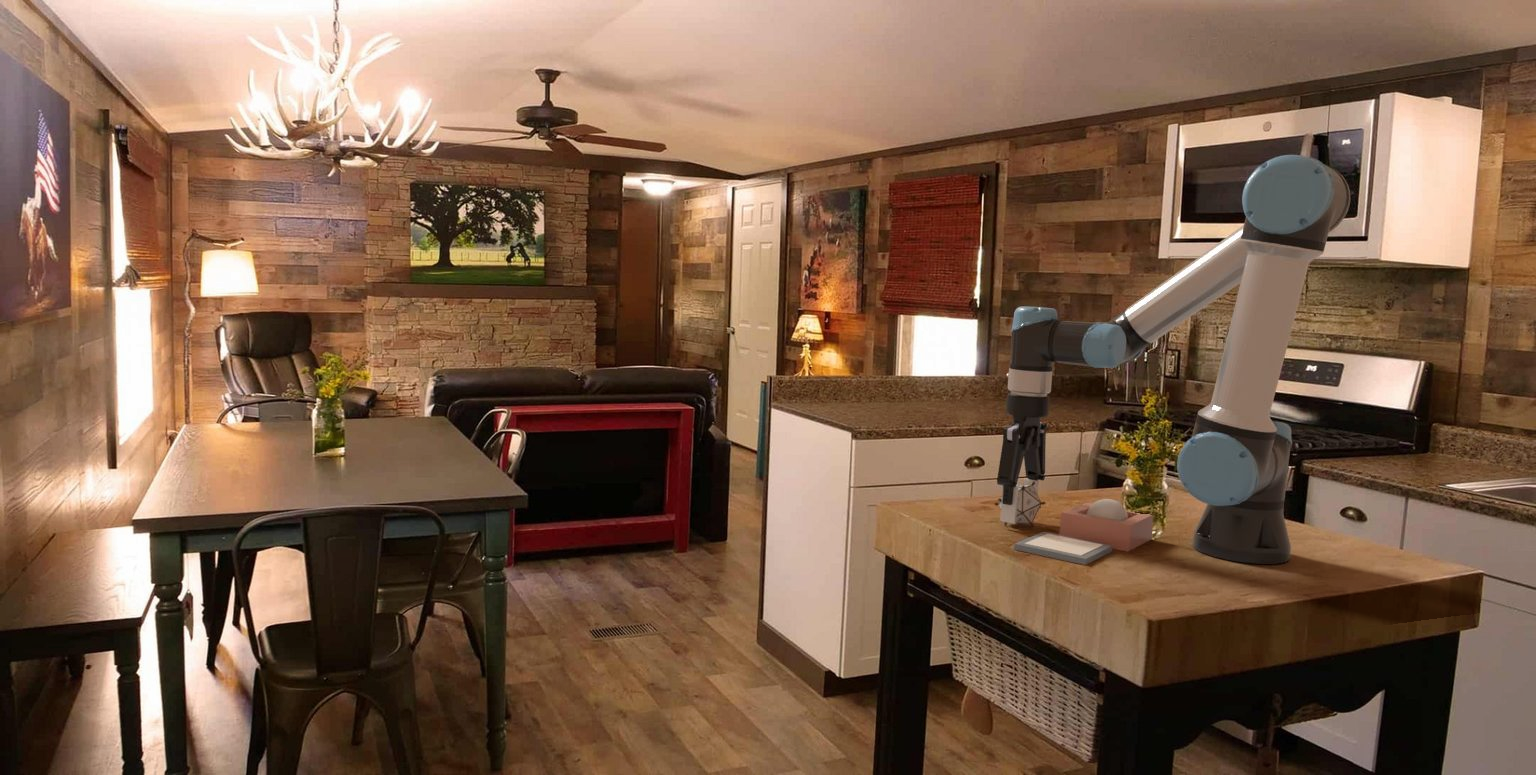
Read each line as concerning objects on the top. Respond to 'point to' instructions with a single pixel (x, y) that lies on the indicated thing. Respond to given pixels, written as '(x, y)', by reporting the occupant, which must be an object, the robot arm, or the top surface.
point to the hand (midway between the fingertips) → (1018, 518)
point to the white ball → (1108, 510)
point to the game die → (1026, 504)
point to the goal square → (1063, 548)
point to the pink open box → (1107, 528)
